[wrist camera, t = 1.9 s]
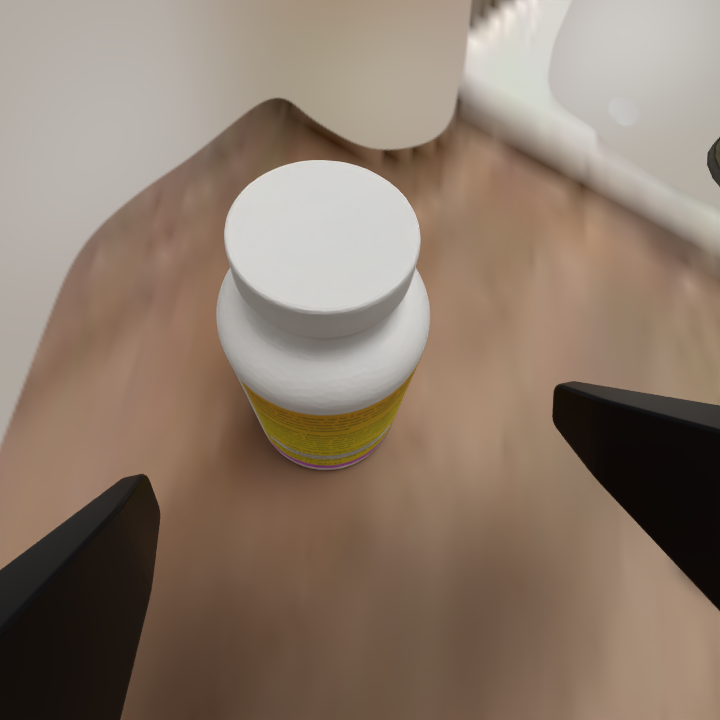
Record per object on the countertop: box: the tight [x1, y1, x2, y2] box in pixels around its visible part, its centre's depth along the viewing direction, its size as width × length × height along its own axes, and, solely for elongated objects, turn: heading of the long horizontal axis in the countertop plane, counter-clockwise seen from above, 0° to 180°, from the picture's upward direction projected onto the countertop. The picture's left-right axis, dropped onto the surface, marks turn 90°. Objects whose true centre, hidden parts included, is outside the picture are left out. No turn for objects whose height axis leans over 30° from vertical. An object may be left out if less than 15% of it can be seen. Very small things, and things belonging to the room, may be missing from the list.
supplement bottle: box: [216, 160, 430, 470], centre depth 16 cm, size 7×7×13 cm
